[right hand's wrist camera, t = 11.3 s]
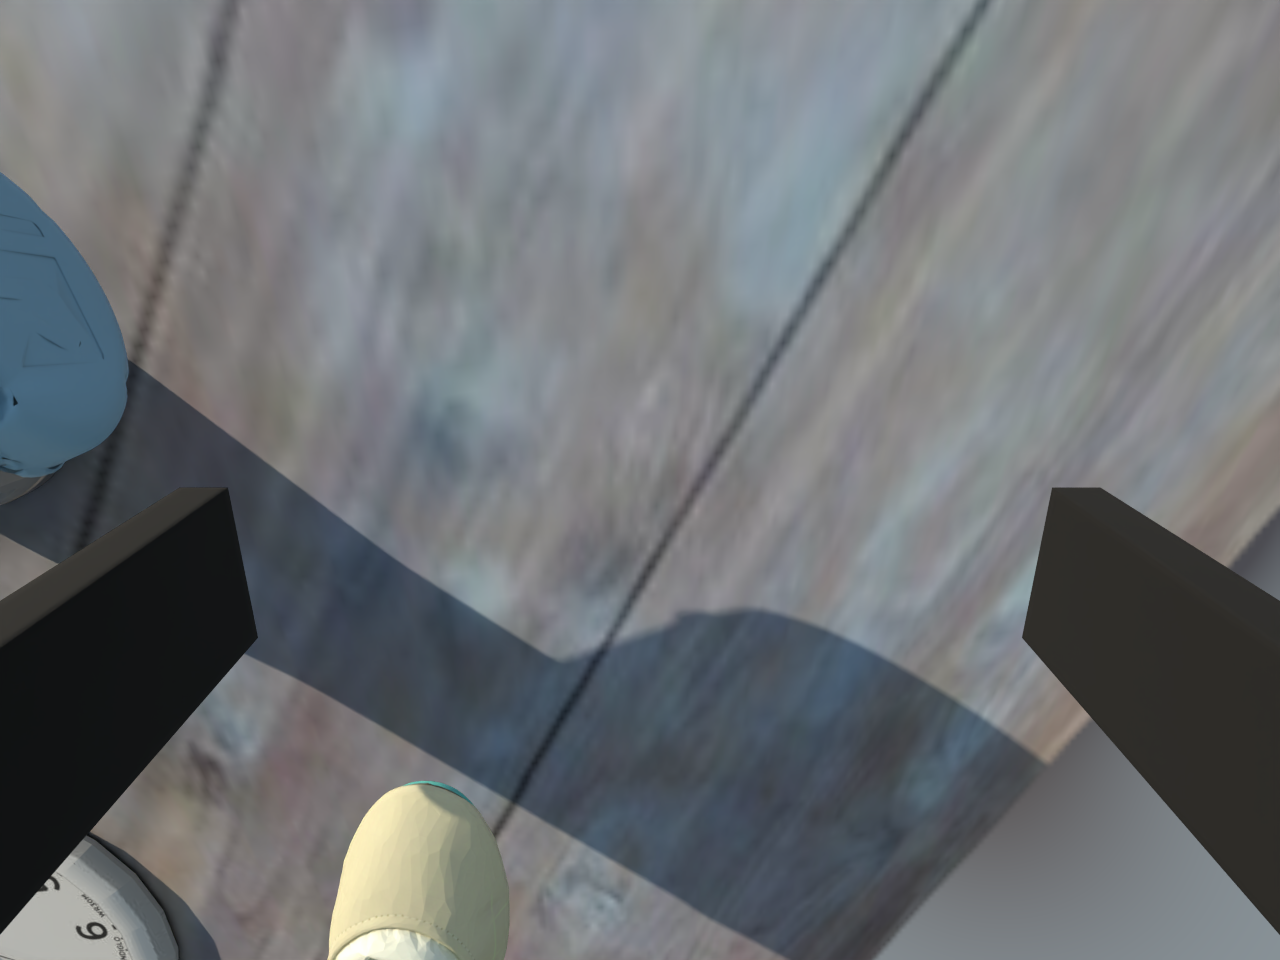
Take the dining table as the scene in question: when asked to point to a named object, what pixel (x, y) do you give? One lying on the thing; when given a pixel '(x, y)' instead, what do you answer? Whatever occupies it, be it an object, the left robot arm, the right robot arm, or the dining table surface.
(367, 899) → the ballet flat
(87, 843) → the wall clock
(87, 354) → the left robot arm
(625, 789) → the dining table surface
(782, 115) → the dining table surface
